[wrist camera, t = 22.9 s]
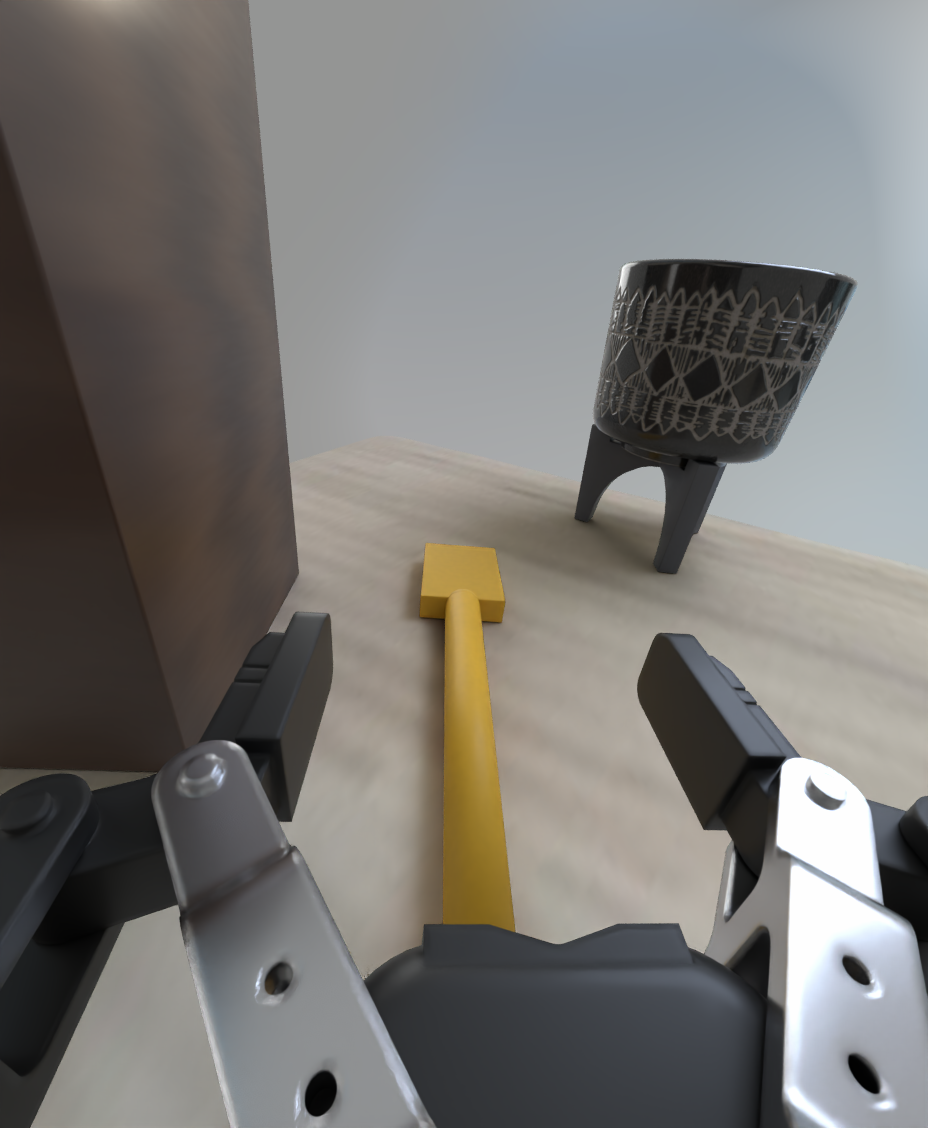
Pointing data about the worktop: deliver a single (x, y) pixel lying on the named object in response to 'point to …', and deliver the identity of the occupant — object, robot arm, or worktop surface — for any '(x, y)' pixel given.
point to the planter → (703, 376)
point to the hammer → (469, 735)
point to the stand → (133, 379)
